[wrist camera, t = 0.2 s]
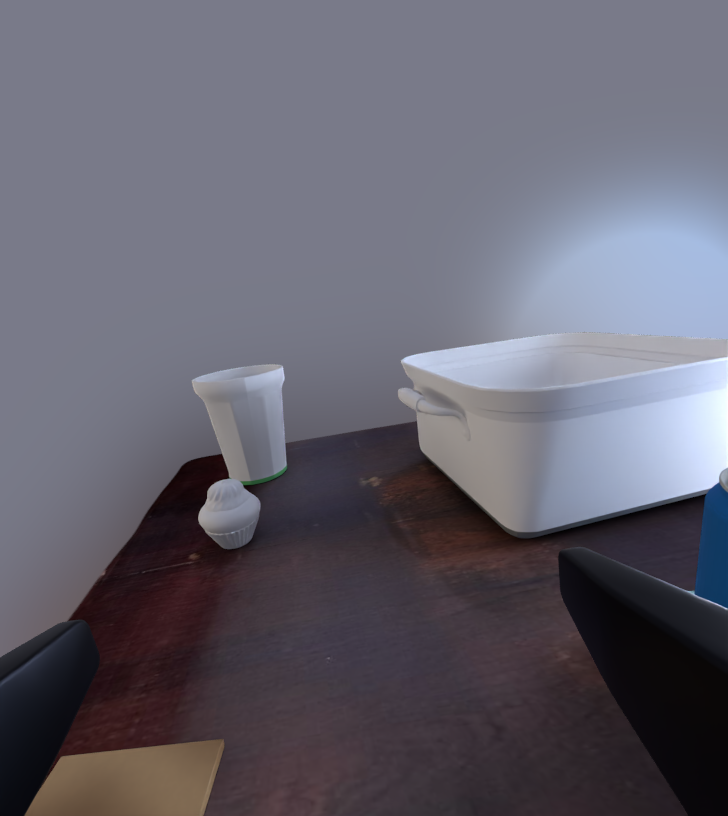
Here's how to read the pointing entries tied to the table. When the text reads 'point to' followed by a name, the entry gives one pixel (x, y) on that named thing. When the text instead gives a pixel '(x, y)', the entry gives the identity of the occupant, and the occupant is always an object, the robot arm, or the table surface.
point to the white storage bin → (573, 424)
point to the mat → (132, 782)
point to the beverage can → (714, 545)
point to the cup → (247, 419)
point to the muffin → (230, 514)
